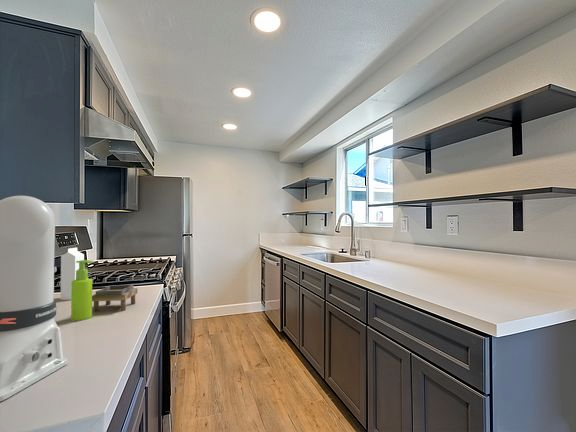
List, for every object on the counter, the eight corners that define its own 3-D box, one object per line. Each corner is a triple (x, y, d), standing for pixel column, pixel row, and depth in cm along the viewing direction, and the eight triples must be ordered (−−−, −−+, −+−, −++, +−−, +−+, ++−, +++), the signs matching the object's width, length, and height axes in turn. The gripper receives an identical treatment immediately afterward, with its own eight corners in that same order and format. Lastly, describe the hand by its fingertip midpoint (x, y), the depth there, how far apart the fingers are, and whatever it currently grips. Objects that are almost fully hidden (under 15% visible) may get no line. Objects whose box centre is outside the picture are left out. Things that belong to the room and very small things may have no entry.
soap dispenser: (83, 321, 97) (84, 261, 98) (66, 320, 99) (67, 261, 99) (98, 315, 103) (98, 259, 103) (82, 314, 104) (82, 259, 105)
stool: (124, 311, 108) (125, 290, 108) (90, 312, 107) (90, 291, 107) (137, 302, 119) (137, 284, 119) (106, 303, 118) (106, 285, 118)
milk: (83, 296, 131) (84, 247, 131) (74, 299, 125) (75, 248, 125) (69, 296, 130) (70, 247, 131) (60, 300, 124) (60, 248, 125)
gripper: (26, 276, 109) (65, 275, 110) (-28, 289, 89) (22, 288, 90) (26, 259, 109) (65, 258, 111) (-28, 268, 89) (22, 267, 90)
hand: (45, 272), depth 100 cm, fingers open, 8 cm apart
